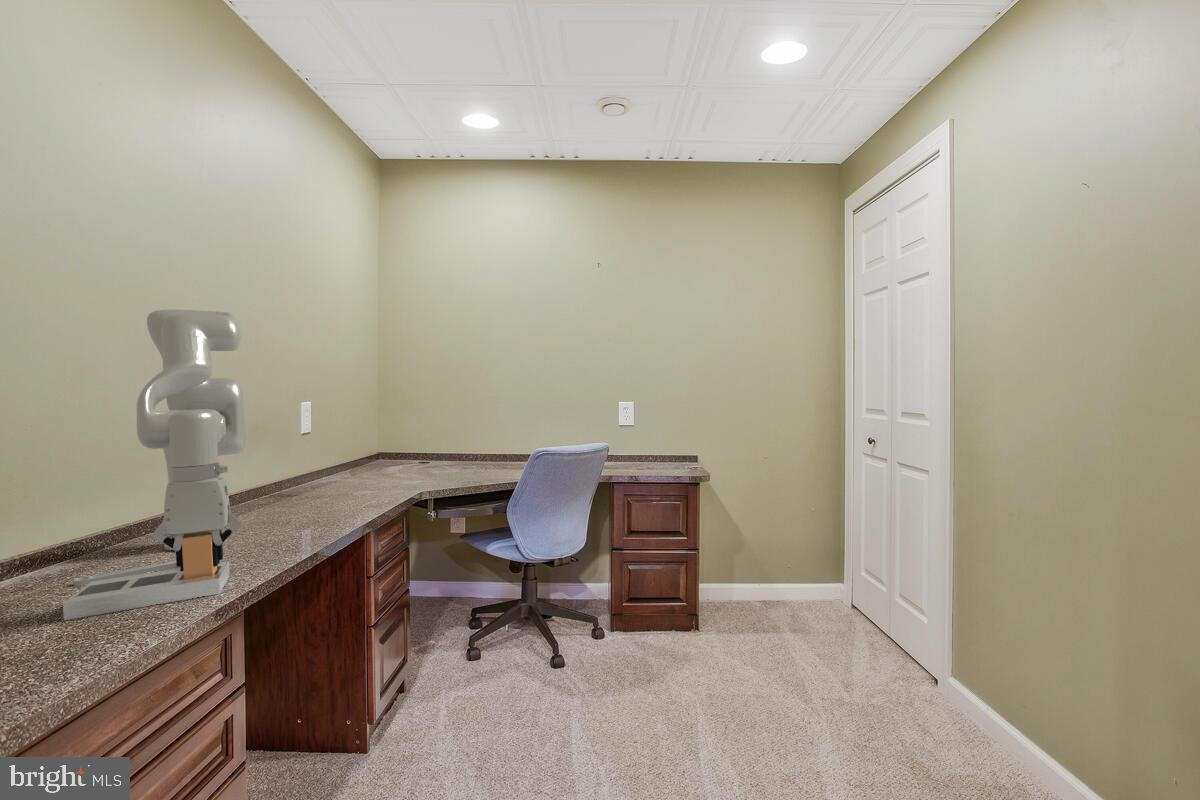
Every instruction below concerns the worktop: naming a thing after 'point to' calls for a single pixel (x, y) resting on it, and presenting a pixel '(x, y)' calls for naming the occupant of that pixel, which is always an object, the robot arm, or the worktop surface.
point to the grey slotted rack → (125, 573)
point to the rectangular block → (198, 555)
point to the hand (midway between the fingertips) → (200, 565)
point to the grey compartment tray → (142, 591)
